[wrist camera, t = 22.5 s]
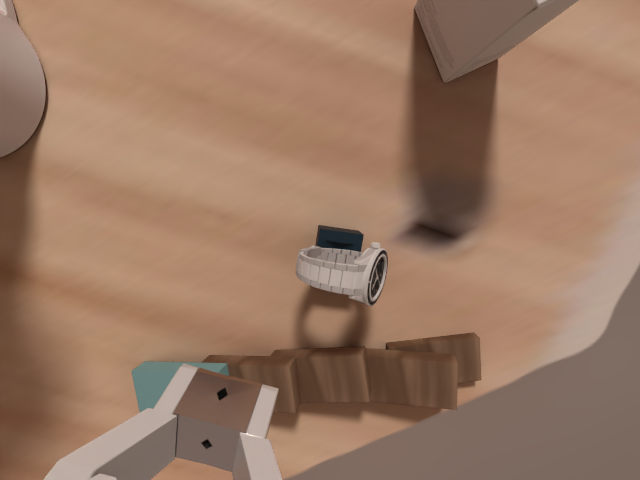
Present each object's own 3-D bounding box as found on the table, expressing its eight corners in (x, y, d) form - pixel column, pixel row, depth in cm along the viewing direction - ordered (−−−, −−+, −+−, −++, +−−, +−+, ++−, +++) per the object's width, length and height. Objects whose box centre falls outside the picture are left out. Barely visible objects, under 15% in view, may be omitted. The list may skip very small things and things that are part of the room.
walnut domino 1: (206, 407, 38) (295, 413, 36) (199, 364, 38) (289, 366, 35) (216, 396, 40) (301, 401, 38) (209, 355, 40) (295, 357, 37)
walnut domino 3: (357, 400, 39) (456, 410, 36) (356, 356, 38) (457, 363, 35) (360, 389, 40) (454, 398, 38) (359, 347, 40) (455, 354, 37)
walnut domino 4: (392, 390, 40) (481, 380, 40) (388, 348, 39) (479, 337, 39) (388, 381, 42) (473, 371, 42) (384, 340, 41) (471, 330, 41)
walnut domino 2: (276, 402, 39) (369, 402, 36) (268, 358, 38) (362, 355, 35) (282, 391, 40) (371, 390, 38) (275, 350, 40) (364, 346, 37)
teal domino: (140, 414, 38) (224, 420, 36) (131, 370, 37) (217, 373, 35) (153, 403, 40) (234, 407, 38) (145, 361, 39) (227, 363, 37)
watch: (368, 283, 39) (392, 320, 28) (294, 273, 39) (290, 307, 28) (376, 232, 38) (405, 251, 27) (302, 221, 38) (301, 236, 27)
